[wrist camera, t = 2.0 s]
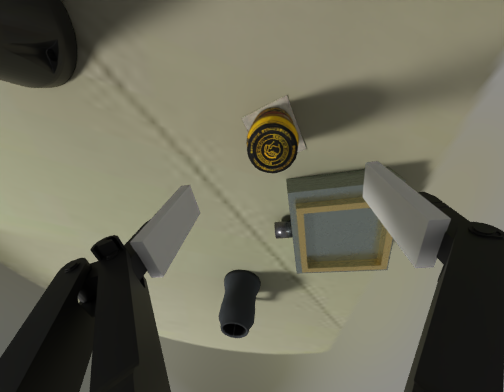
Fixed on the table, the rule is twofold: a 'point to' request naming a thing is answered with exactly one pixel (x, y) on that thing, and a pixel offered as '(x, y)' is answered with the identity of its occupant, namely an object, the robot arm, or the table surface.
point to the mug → (238, 303)
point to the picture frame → (334, 225)
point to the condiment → (273, 136)
